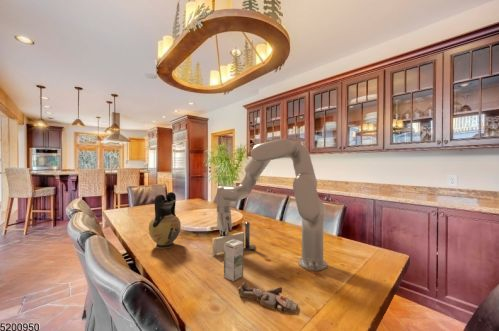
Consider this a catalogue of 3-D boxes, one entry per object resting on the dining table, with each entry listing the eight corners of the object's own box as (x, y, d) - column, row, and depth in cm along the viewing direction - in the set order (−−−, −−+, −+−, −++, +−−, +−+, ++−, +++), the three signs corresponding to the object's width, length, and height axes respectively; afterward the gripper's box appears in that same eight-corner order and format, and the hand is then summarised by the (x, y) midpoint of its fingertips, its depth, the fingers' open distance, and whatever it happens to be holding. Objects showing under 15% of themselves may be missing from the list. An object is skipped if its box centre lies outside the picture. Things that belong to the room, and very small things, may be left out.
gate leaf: (245, 247, 124) (244, 232, 124) (213, 255, 113) (213, 239, 113) (243, 246, 126) (242, 231, 125) (212, 254, 115) (211, 238, 115)
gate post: (253, 250, 121) (253, 223, 120) (244, 250, 122) (243, 223, 121) (255, 247, 125) (255, 221, 125) (245, 246, 126) (245, 220, 126)
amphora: (170, 253, 118) (169, 195, 117) (141, 250, 121) (141, 195, 121) (186, 241, 135) (185, 191, 135) (160, 239, 139) (160, 190, 138)
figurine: (246, 275, 84) (299, 291, 75) (246, 288, 84) (299, 305, 75) (236, 285, 78) (293, 303, 69) (236, 299, 78) (293, 319, 69)
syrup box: (233, 272, 97) (233, 238, 97) (243, 276, 94) (243, 241, 93) (223, 277, 93) (223, 242, 93) (234, 282, 89) (233, 245, 89)
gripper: (236, 210, 117) (235, 246, 117) (224, 205, 130) (224, 237, 130) (222, 212, 113) (222, 248, 113) (212, 206, 126) (211, 239, 126)
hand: (223, 242), depth 122 cm, fingers closed
